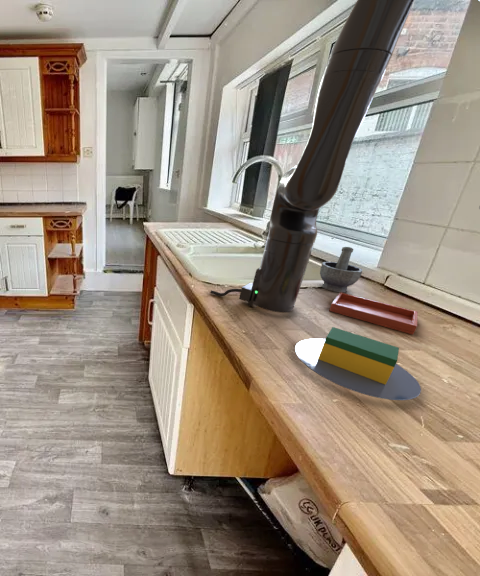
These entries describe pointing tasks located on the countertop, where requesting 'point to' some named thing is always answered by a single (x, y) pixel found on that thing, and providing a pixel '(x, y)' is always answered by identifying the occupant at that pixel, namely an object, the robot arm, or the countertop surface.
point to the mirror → (396, 387)
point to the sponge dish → (375, 312)
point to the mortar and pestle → (340, 272)
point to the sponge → (359, 354)
